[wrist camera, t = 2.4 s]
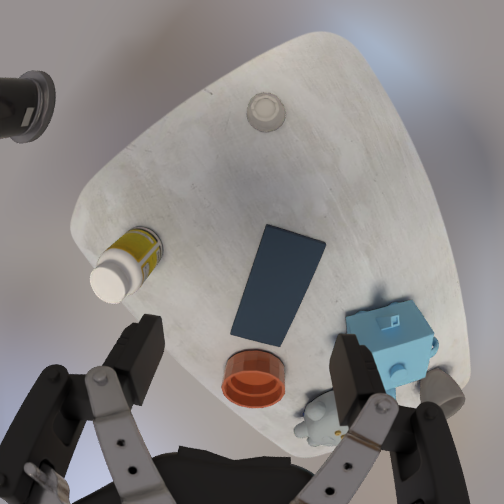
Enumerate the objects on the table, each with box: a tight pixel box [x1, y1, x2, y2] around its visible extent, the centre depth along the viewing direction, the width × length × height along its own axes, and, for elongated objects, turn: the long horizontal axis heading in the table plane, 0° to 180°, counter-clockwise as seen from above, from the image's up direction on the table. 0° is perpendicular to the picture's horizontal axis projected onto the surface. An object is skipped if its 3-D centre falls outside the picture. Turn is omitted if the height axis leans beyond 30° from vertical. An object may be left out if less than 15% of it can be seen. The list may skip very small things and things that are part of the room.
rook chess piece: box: [247, 92, 286, 132], centre depth 27 cm, size 4×4×8 cm
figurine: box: [294, 390, 349, 447], centre depth 46 cm, size 17×8×20 cm
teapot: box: [346, 300, 439, 400], centre depth 37 cm, size 16×18×11 cm
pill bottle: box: [90, 227, 162, 304], centre depth 33 cm, size 6×6×11 cm
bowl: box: [221, 351, 285, 408], centre depth 44 cm, size 10×10×5 cm
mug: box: [420, 368, 465, 419], centre depth 43 cm, size 12×9×10 cm
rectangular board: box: [230, 224, 326, 347], centre depth 39 cm, size 18×8×1 cm, turn 164°
